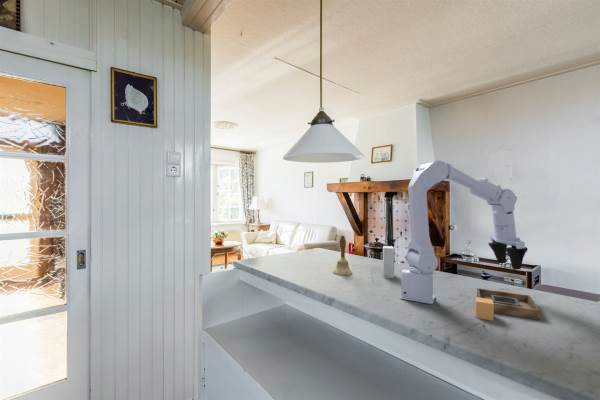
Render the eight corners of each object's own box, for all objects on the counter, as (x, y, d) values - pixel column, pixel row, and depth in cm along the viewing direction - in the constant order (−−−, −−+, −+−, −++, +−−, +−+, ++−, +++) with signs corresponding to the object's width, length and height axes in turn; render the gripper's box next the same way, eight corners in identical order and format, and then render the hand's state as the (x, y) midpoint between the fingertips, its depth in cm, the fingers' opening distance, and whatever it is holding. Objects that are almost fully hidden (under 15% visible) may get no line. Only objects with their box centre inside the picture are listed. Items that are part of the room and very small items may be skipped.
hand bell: (353, 275, 121) (354, 237, 120) (333, 275, 121) (334, 236, 120) (350, 270, 129) (351, 234, 129) (331, 270, 129) (332, 234, 129)
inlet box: (478, 309, 85) (479, 301, 85) (476, 295, 97) (476, 288, 97) (539, 319, 78) (540, 310, 78) (529, 303, 91) (529, 295, 91)
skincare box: (394, 278, 117) (394, 248, 117) (383, 277, 118) (383, 248, 118) (392, 274, 123) (393, 246, 123) (382, 273, 124) (382, 245, 124)
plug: (475, 317, 80) (476, 301, 80) (475, 312, 83) (475, 297, 83) (493, 321, 78) (493, 304, 78) (492, 315, 81) (492, 299, 81)
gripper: (533, 226, 88) (538, 270, 89) (503, 221, 103) (507, 259, 103) (508, 229, 89) (514, 273, 89) (482, 223, 103) (486, 261, 103)
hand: (509, 265), depth 96 cm, fingers open, 7 cm apart
